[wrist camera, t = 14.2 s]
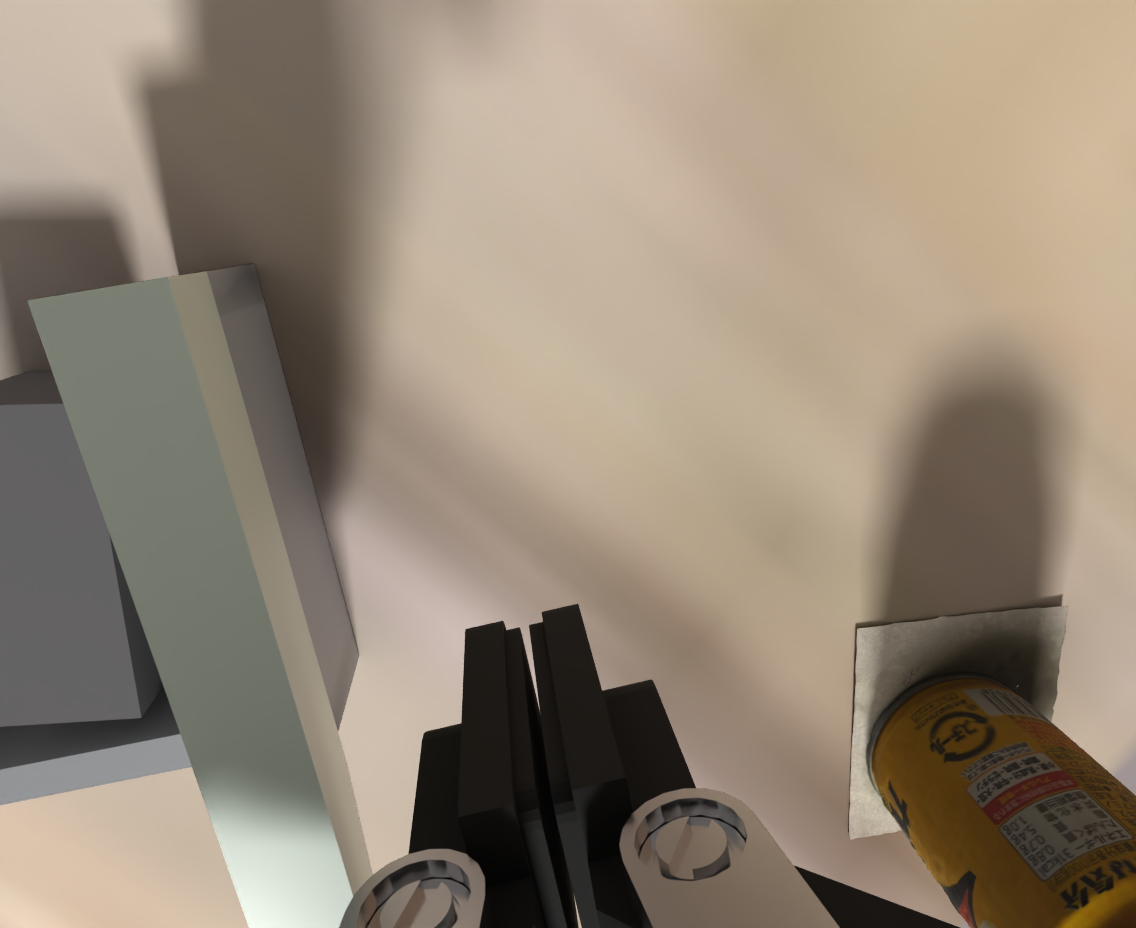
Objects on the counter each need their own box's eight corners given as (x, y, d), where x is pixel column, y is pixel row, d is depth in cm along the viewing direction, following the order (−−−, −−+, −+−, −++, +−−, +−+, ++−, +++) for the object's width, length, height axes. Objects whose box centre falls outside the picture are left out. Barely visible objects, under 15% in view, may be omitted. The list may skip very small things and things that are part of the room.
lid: (26, 300, 6) (167, 277, 6) (155, 279, 16) (207, 271, 17) (380, 1299, 10) (460, 1252, 10) (304, 768, 20) (344, 753, 20)
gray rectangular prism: (32, 370, 22) (-80, 406, 17) (163, 367, 22) (86, 403, 18) (83, 635, 24) (-5, 726, 20) (201, 629, 24) (141, 717, 20)
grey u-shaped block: (-165, 332, 21) (-355, 364, 16) (254, 263, 21) (191, 274, 17) (3, 725, 24) (-112, 846, 20) (358, 655, 25) (331, 757, 20)
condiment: (847, 835, 29) (1085, 1227, 18) (854, 625, 27) (1137, 925, 15) (1036, 808, 30) (1385, 1171, 18) (1061, 600, 27) (1481, 870, 16)
